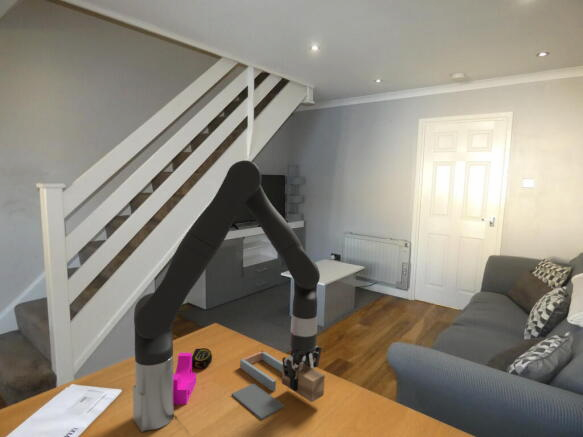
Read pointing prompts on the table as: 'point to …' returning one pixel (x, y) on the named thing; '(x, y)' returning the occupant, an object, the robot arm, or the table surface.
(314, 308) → the robot arm
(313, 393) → the block
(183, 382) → the toy block
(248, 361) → the channel
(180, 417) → the table surface
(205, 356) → the tape measure
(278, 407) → the mat
